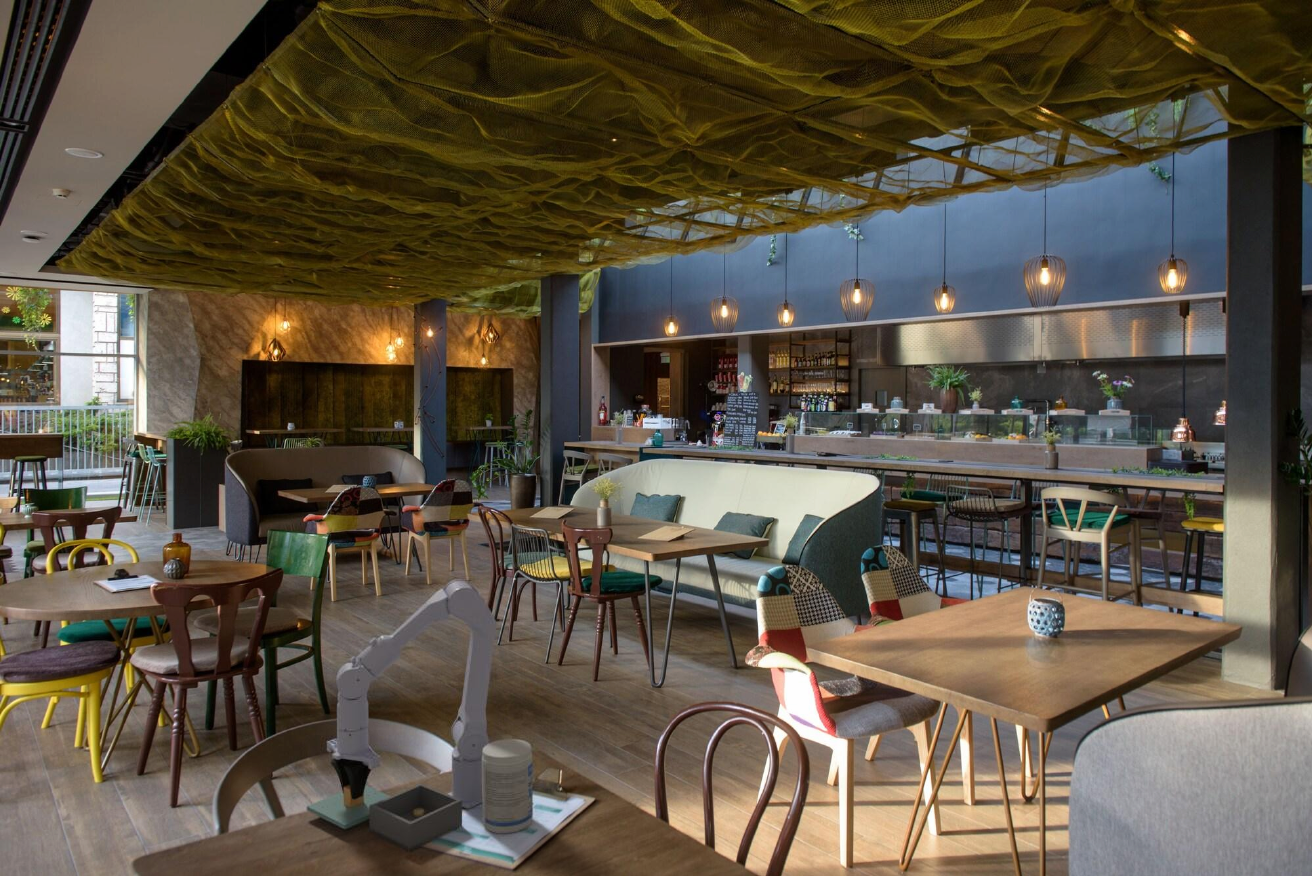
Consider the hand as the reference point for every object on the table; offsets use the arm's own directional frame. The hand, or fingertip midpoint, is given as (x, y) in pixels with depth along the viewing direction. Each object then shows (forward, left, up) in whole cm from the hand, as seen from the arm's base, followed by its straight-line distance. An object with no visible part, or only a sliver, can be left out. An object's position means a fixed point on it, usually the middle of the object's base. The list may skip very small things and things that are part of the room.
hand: (353, 795), depth 168 cm
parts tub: (-4, +14, -4) cm, 15 cm away
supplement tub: (-16, +26, -4) cm, 31 cm away
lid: (0, 0, -3) cm, 3 cm away
